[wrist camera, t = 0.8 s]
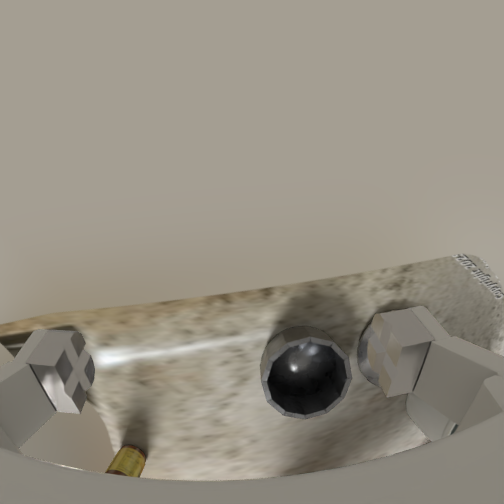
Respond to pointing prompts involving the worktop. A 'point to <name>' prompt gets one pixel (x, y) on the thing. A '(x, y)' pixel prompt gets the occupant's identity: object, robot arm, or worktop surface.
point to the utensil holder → (429, 419)
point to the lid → (363, 356)
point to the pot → (304, 372)
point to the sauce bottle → (127, 462)
